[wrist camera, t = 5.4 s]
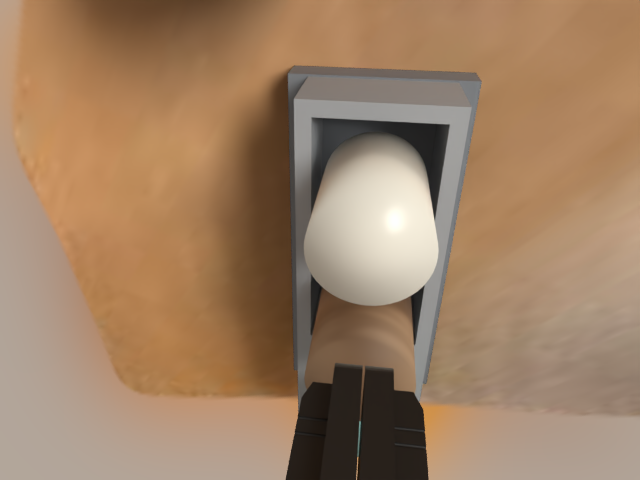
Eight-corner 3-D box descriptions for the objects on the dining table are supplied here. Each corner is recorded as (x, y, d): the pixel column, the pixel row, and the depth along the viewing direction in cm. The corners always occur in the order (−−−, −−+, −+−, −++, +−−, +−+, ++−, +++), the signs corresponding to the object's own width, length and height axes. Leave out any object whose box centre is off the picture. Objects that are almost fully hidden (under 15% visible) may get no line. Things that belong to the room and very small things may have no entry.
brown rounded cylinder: (416, 262, 26) (422, 348, 20) (405, 332, 28) (409, 426, 23) (322, 254, 26) (304, 336, 21) (321, 324, 29) (304, 414, 23)
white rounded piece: (433, 134, 22) (448, 197, 16) (420, 229, 25) (429, 311, 19) (324, 128, 22) (303, 187, 17) (323, 222, 25) (303, 299, 20)
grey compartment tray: (475, 72, 26) (498, 106, 21) (424, 364, 38) (430, 435, 32) (294, 65, 27) (269, 95, 22) (298, 351, 39) (282, 418, 33)
